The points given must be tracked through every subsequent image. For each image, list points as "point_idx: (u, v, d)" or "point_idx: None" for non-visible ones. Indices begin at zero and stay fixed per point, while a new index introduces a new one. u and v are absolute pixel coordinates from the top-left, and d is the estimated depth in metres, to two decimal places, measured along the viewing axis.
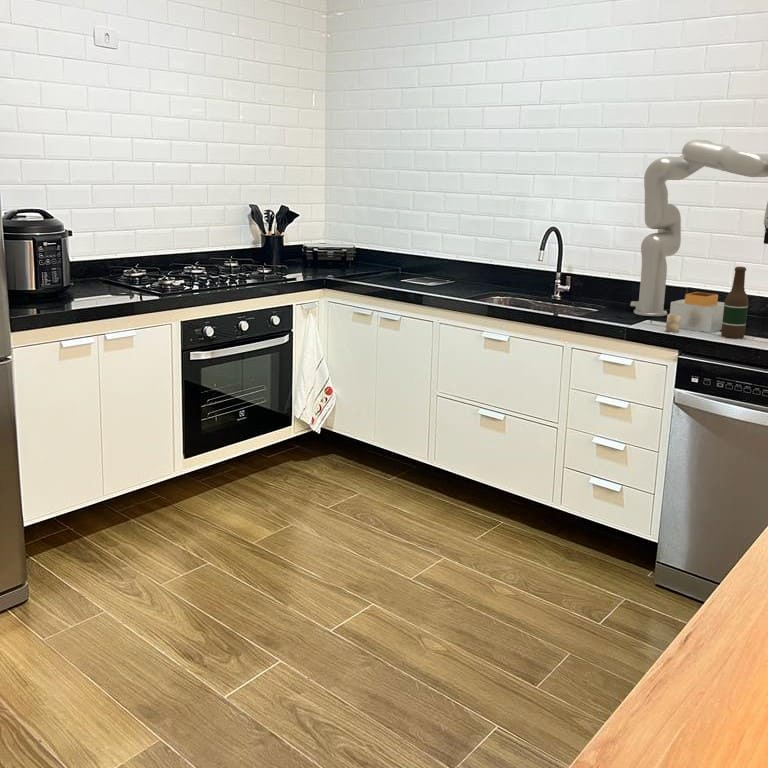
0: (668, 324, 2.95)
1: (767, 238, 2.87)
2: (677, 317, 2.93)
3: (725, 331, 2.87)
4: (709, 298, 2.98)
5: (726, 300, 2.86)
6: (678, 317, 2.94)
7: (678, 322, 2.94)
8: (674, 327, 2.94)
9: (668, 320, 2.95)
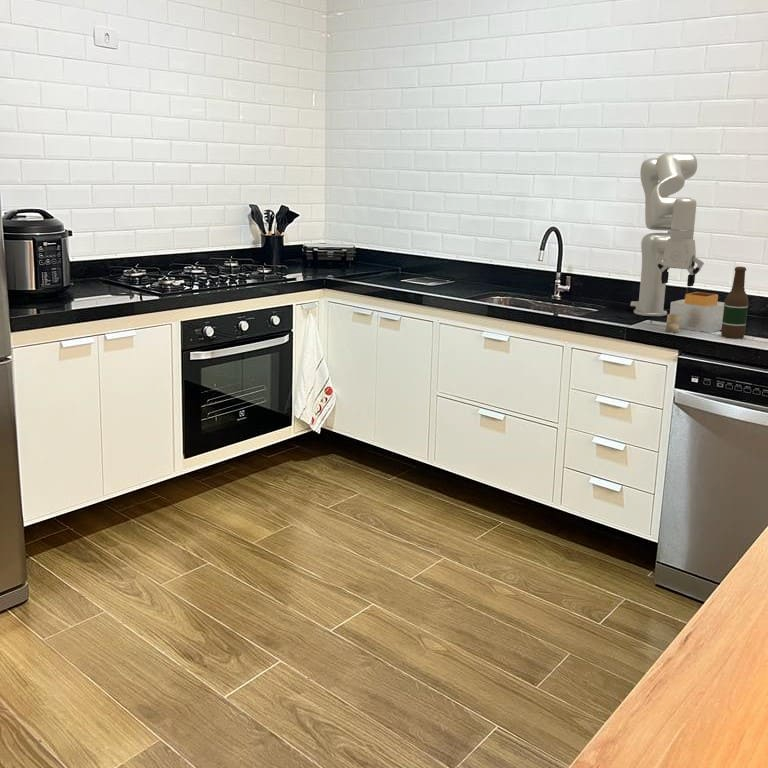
0: (668, 324, 2.95)
1: (692, 280, 2.88)
2: (677, 317, 2.93)
3: (725, 331, 2.87)
4: (709, 298, 2.98)
5: (726, 300, 2.86)
6: (678, 317, 2.94)
7: (678, 322, 2.94)
8: (674, 327, 2.94)
9: (668, 320, 2.95)
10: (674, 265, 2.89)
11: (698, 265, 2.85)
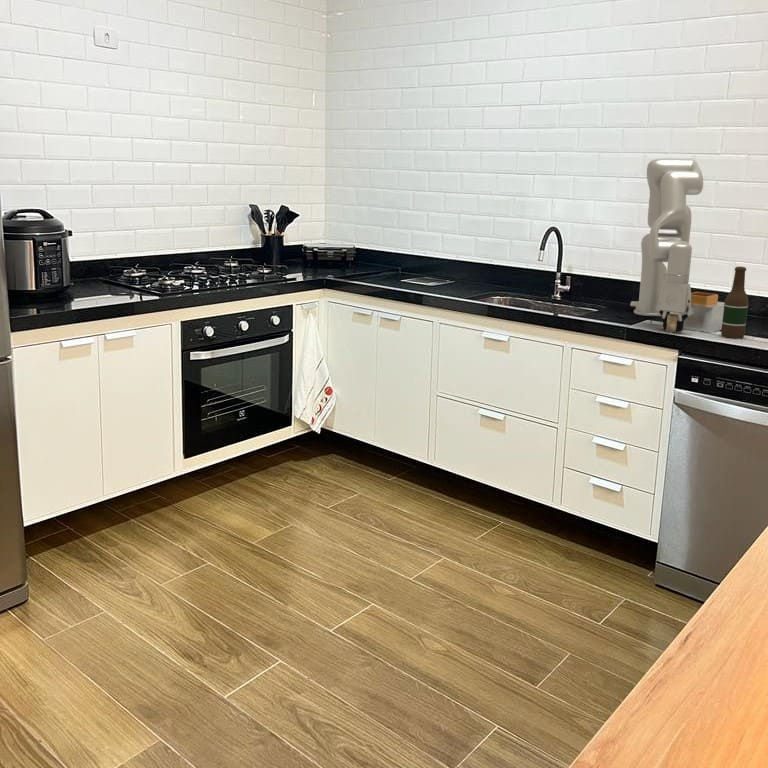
0: (668, 324, 2.95)
1: (681, 326, 2.94)
2: (677, 317, 2.93)
3: (725, 331, 2.87)
4: (709, 298, 2.98)
5: (726, 300, 2.86)
6: None
7: None
8: (674, 327, 2.94)
9: (668, 320, 2.95)
10: (670, 309, 2.93)
11: (688, 313, 2.91)
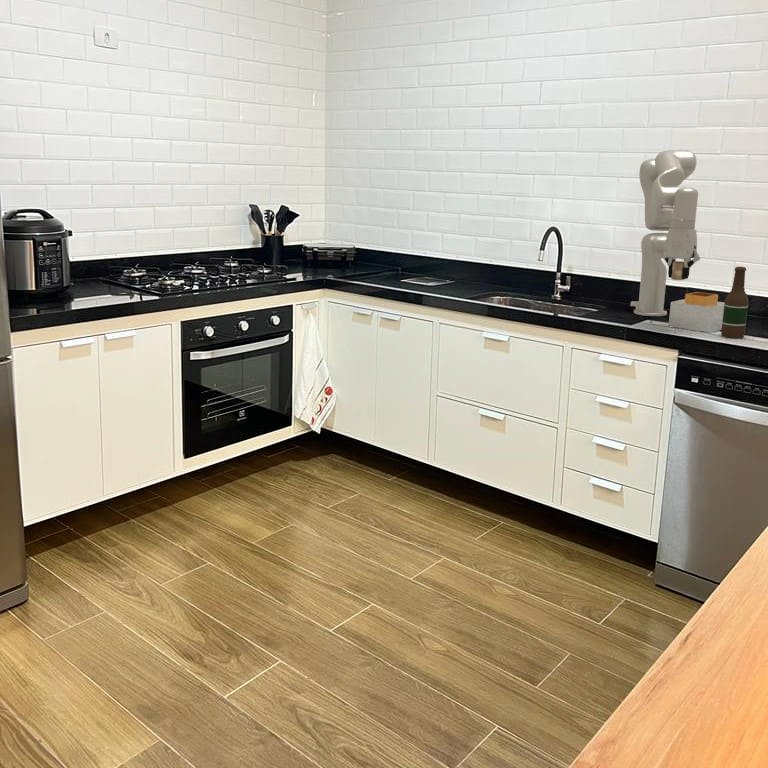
0: (673, 271, 2.91)
1: (687, 273, 2.89)
2: (683, 264, 2.89)
3: (725, 331, 2.87)
4: (709, 298, 2.98)
5: (726, 300, 2.86)
6: None
7: None
8: (680, 274, 2.90)
9: (674, 267, 2.91)
10: (675, 255, 2.88)
11: (694, 259, 2.86)
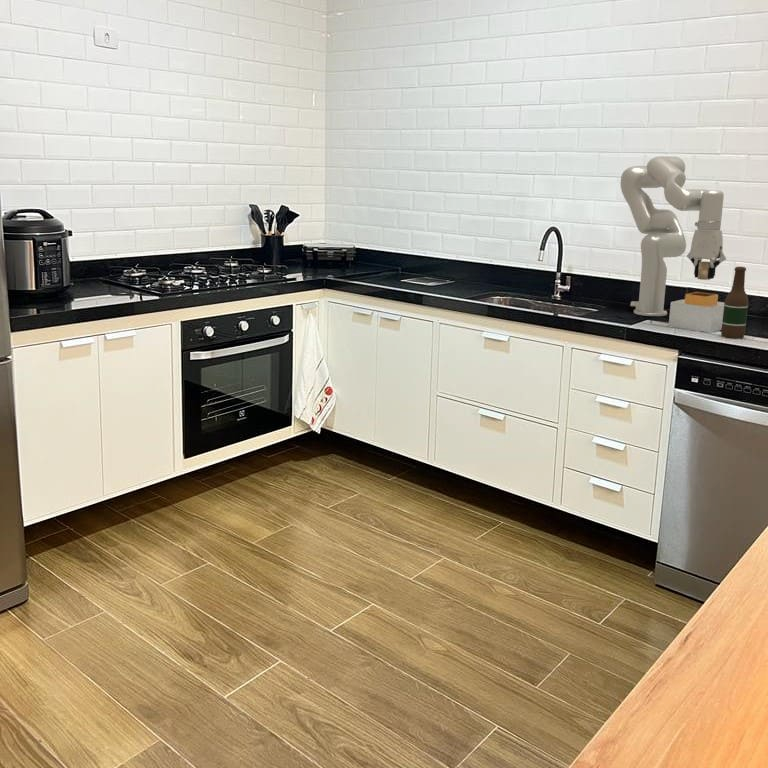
0: (699, 271, 2.99)
1: (713, 273, 2.97)
2: (709, 264, 2.97)
3: (725, 331, 2.87)
4: (709, 298, 2.98)
5: (726, 300, 2.86)
6: None
7: None
8: (706, 274, 2.98)
9: (700, 267, 2.99)
10: (701, 255, 2.97)
11: (720, 259, 2.94)
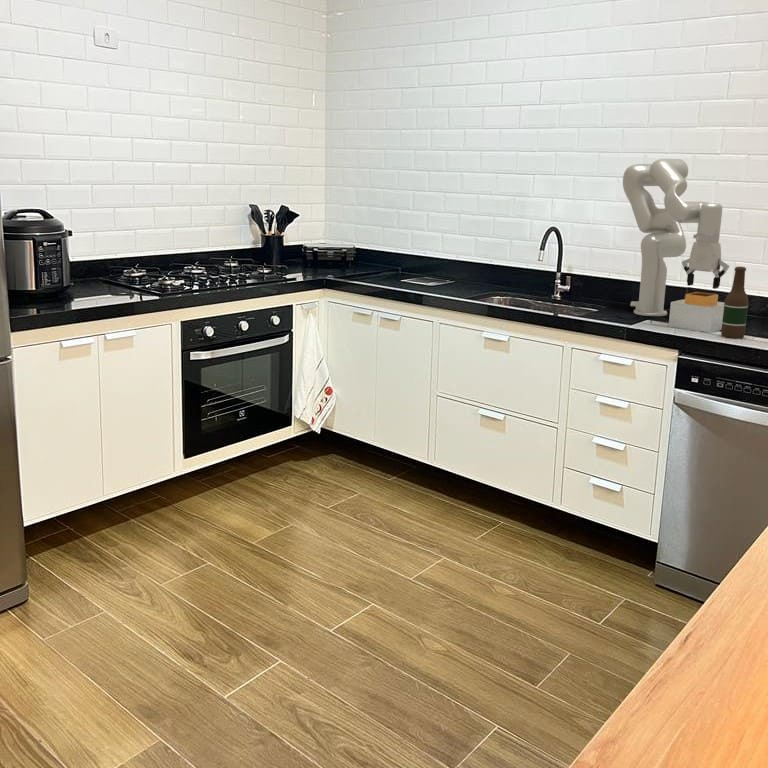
0: None
1: (718, 283, 2.97)
2: None
3: (725, 331, 2.87)
4: (709, 298, 2.98)
5: (726, 300, 2.86)
6: None
7: None
8: None
9: None
10: (700, 268, 2.98)
11: (724, 268, 2.94)
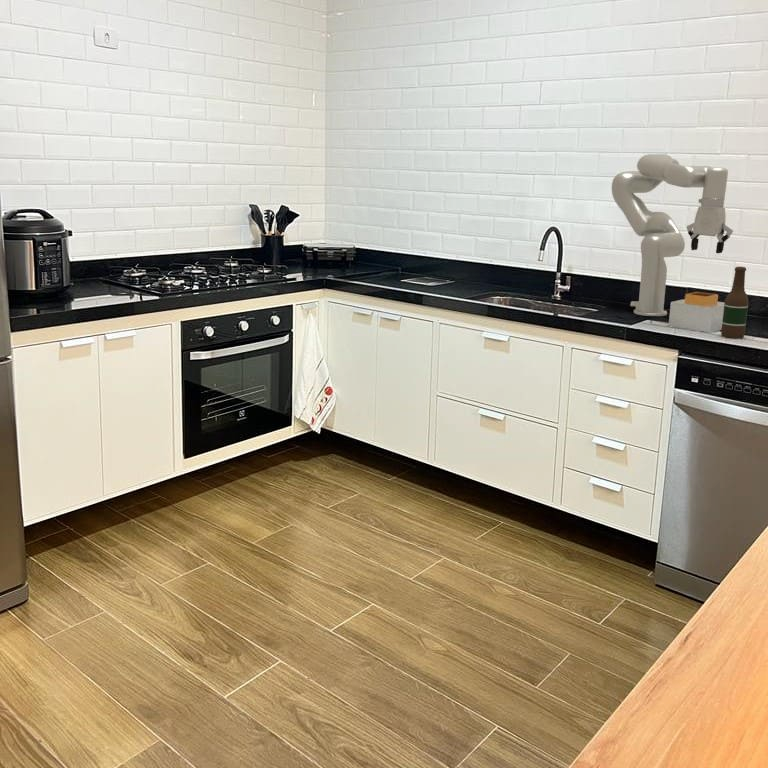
0: None
1: (721, 248, 2.98)
2: None
3: (725, 331, 2.87)
4: (709, 298, 2.98)
5: (726, 300, 2.86)
6: None
7: None
8: None
9: None
10: (704, 232, 2.99)
11: (727, 233, 2.95)
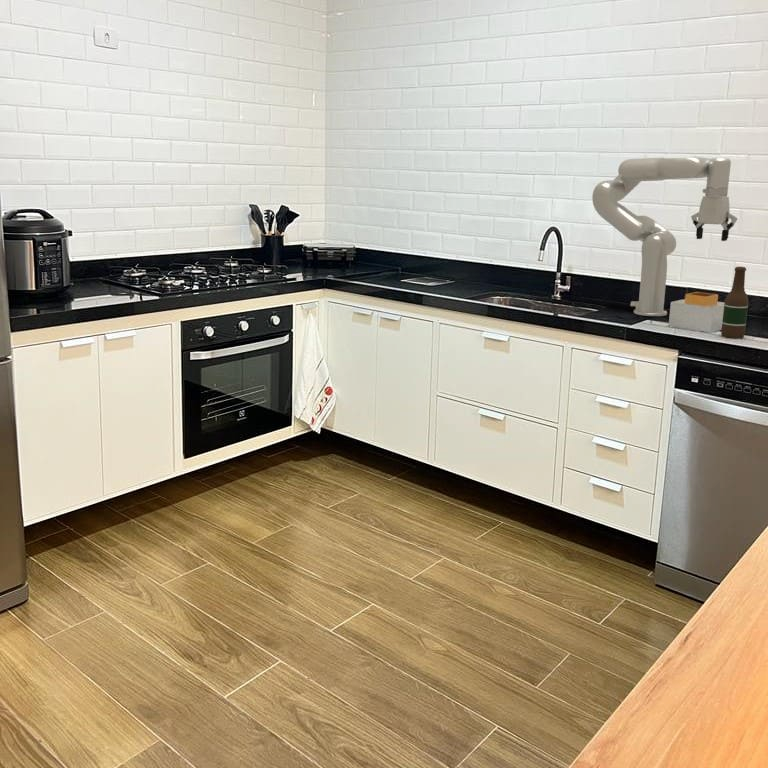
0: None
1: (726, 235, 3.07)
2: None
3: (725, 331, 2.87)
4: (709, 298, 2.98)
5: (726, 300, 2.86)
6: None
7: None
8: None
9: None
10: (709, 221, 3.08)
11: (732, 220, 3.04)
